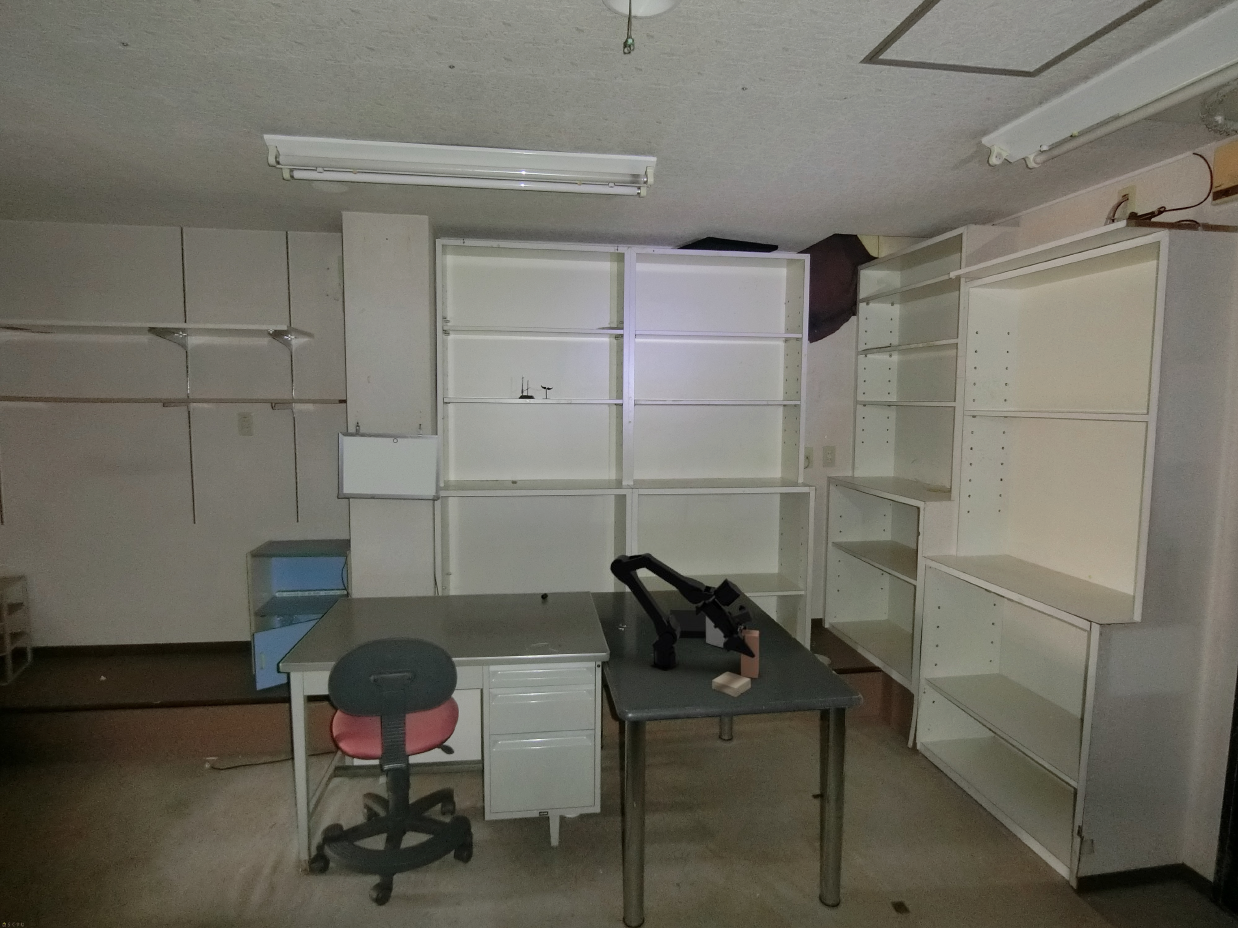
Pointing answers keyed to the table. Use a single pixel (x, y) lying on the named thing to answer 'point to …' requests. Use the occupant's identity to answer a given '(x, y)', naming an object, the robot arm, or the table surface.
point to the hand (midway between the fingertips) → (754, 653)
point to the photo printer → (713, 634)
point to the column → (747, 663)
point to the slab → (731, 684)
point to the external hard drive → (690, 623)
